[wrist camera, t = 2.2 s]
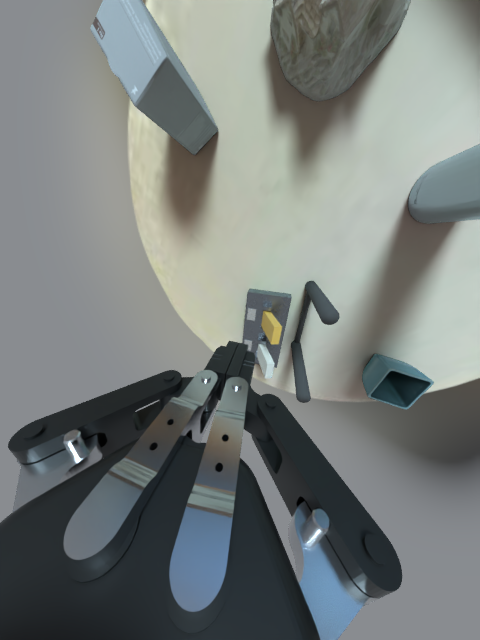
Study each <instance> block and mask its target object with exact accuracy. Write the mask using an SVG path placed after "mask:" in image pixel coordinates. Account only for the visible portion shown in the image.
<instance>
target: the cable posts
mask: <svg viewBox="0 0 480 640" xmlns="http://www.w3.org/2000/svg"><path fill="white" fill-rule="evenodd" d="M305 288H306V290H307V294H306V298H305V302H304V306H303V310H302V314H301V318H300V322H299V326H298V330H297V334H296V338H295V341H293V342H292V343H291V348H292V358H293V367H294V377H295V387H296V397H297V400H298V401H300V402H303V403H305V402H308V401H310V399H311V397H310V392H309V386H308V381H307V376H306V370H305V365H304V360H303V355H302V349H301V344H300V338H301V334H302V330H303V326H304V323H305V319H306V315H307V311H308V307H309V304H310V300H312V302H313V304H314V306H315V308H316V311H317V313H318V315H319V317H320V319H321V321H322V322H323V323H324V324H327V325H331V324H334V323H336V322H337V321H338V319H339V313H338V311H337V310H336V309H335V308H334V306H333V305H332V304H331V302H330V301H329V300H328V298H327V297H326V296H325V295H324V293H323V292H322V291H321V289H320V288H319V287H318V286H317V284H316V283H315V282H314V281H309V282H307V283H306V285H305Z"/></svg>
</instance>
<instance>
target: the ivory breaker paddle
mask: <svg viewBox="0 0 480 640" xmlns="http://www.w3.org/2000/svg"><path fill="white" fill-rule="evenodd" d="M257 358H258V361H259V364H260V366H261V369H262V372H263V374H264V377H265V378H272V374H273V369H274V364H275V363H274V361H273V359H272V357H271V355H270V353H269V351H268V349H267V347H266V345H264V344H258V350H257Z"/></svg>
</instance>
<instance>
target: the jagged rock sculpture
mask: <svg viewBox="0 0 480 640" xmlns="http://www.w3.org/2000/svg"><path fill="white" fill-rule="evenodd" d="M410 2H411V0H273V8H272V15H271V31H272V38H273V39H274V43H275V47H276V51H277V54H278V58H279V62H280V66H281V69H282V71H283V74H284V76H285V78H286V80H287V81H288V82H290V84H291V85H292V86H294V87H295V88H297V90H298V91H299V92H300V93H301V94H303V95H305V96H306V97H308V98H310V99H311V100H315V101H323V100H327V99H331V98H334V97H336V96H338V95H340V94H342V93H343V92H345V91H346V90H347V89H348V88H349V87H351V86H352V84H353V83H354V82H355V81H356V79H357V78H358V77H359V76H360V75H361V73H362V72H363V71H364V70H365V69H366V67H367V66H368V65H369V64H370V63H371V62H372V61H373V60H374V59H375V58H376V57H377V55H378V54H379V53H380V51H381V50H382V49H383V48H384V47H385V46H386V45H387V44H388V42H389V41H390V40H391V39H392V38H393V36H394V35H395V34H396V33H397V31H398V30H399V28H400V26H401V24H402V22H403V20H404V18H405V15H406V14H407V10H408V7H409V5H410Z"/></svg>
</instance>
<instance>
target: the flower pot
mask: <svg viewBox="0 0 480 640" xmlns="http://www.w3.org/2000/svg"><path fill="white" fill-rule="evenodd" d="M362 380H363V384H364V387H365V390H366V393H367V396H368V397H369V398H371V399H374V400H378V401H381V402H384V403H387V404H390V405H393V406H396V407H399V408H402V409H408V408H410V407H411V406H412V405H413V403H414V402H415V401H416V400H417V399H418V398H419V397H420V396H421V395H422V394H423V393H425V392H426V391H427V390H428V389H429V388H430V387H431V386H432V385H433V383H434V382H433V381H432V380H431V379H429V378H428V377H427V376H425V375H424V374H423V373H421V372H420V371H419V370H417V369H416V368H414V367H413V366H411V365H409V364H407V363H404V362H402V361H399V360H395V359H392V358H389V357H385V356H382V355H379V354H374V355H373V357H372V358H371V360H370V361H369V362H368V364H367V365H366V367H365V368H364V371H363V375H362Z"/></svg>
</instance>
